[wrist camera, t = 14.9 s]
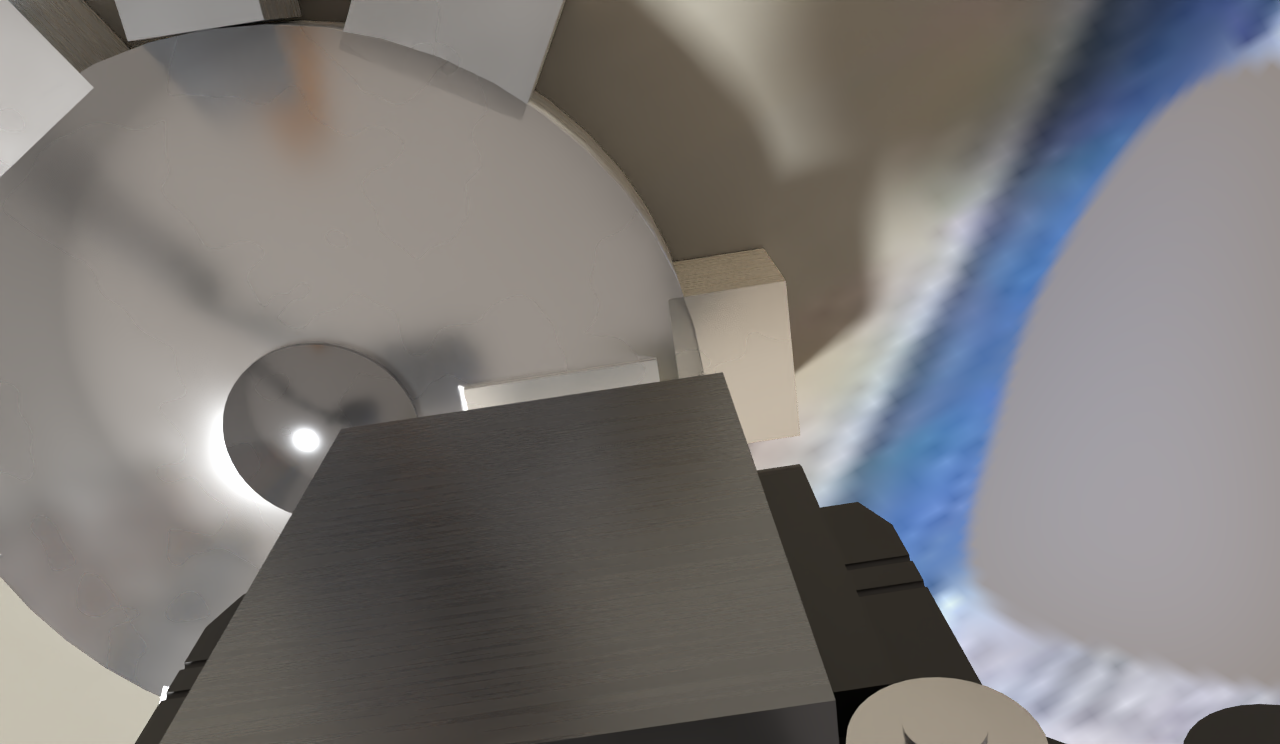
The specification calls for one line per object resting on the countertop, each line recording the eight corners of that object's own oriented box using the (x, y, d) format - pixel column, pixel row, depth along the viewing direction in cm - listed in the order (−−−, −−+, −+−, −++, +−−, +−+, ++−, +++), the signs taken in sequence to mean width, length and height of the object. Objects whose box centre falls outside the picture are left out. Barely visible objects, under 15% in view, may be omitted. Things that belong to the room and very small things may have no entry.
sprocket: (80, 758, 20) (24, 844, 18) (-259, 27, 14) (-393, 33, 12) (803, 648, 20) (828, 722, 18) (726, -129, 14) (747, -148, 12)
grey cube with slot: (426, 730, 12) (308, 1251, 7) (341, 428, 10) (116, 820, 5) (759, 683, 11) (877, 1170, 7) (722, 372, 10) (840, 714, 5)
